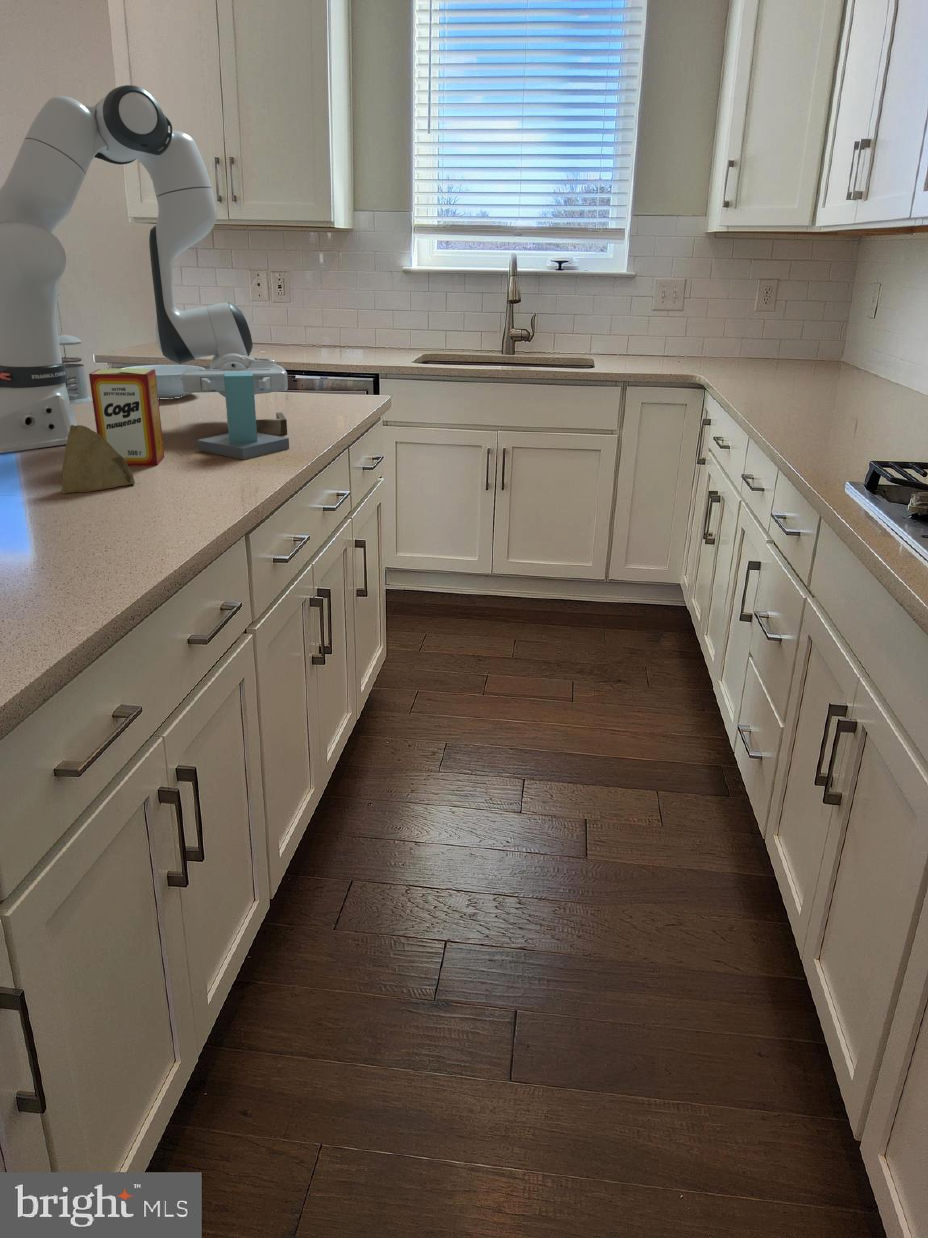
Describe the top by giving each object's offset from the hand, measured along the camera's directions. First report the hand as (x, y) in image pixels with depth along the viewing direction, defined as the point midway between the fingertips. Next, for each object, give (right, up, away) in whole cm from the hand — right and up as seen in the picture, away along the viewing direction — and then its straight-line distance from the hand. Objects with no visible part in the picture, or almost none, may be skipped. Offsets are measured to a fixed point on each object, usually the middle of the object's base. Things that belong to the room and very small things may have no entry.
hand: (237, 386), depth 173 cm
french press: (-52, +8, +46) cm, 70 cm away
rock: (-15, -24, -28) cm, 40 cm away
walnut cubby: (0, -5, +17) cm, 17 cm away
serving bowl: (-32, +11, +54) cm, 63 cm away
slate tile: (+1, -12, -1) cm, 12 cm away
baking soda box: (-16, -16, -11) cm, 25 cm away
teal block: (+1, -10, -1) cm, 10 cm away
